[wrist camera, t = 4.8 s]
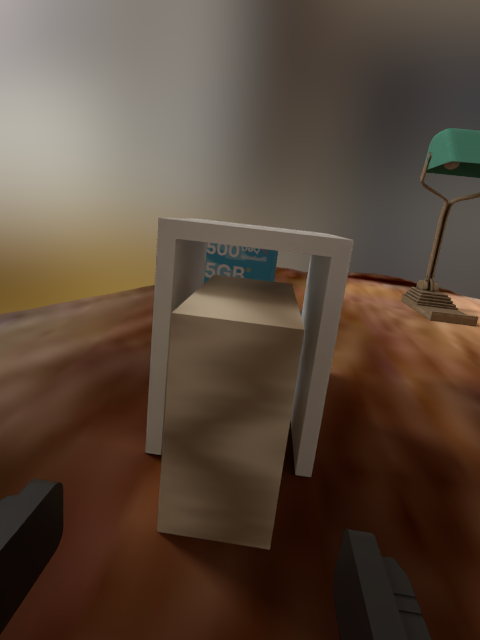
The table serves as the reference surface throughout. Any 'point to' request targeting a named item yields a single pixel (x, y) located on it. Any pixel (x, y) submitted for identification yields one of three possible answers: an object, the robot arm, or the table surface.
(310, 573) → the table surface
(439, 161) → the banker's lamp
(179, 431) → the maple block
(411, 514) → the table surface
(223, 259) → the data package
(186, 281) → the tunnel
